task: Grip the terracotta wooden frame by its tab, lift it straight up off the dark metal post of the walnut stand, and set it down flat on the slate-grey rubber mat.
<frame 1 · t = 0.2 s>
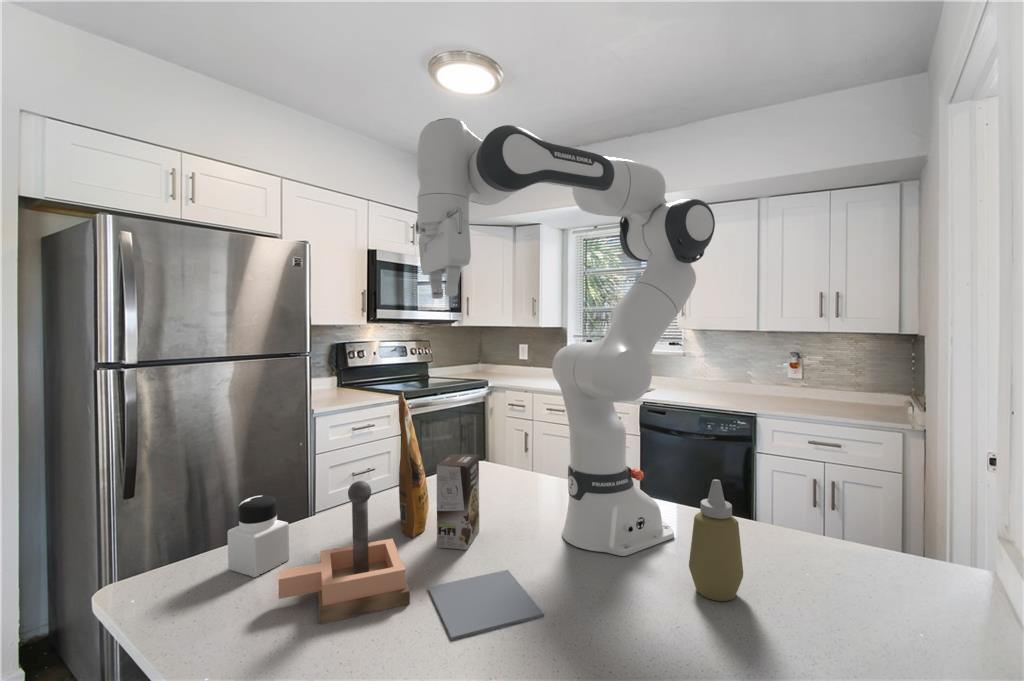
hand: (444, 297, 86), 48 cm above the countertop, tool pointing down, fingers open, 8 cm apart
mat: (483, 601, 76), on the countertop
coffee box: (459, 540, 99), on the countertop
squeeze bottle: (715, 593, 79), on the countertop
pancake mix bag: (412, 523, 107), on the countertop
frame: (361, 578, 80), point 2 cm above the countertop, touching stand
medicine bottle: (259, 566, 89), on the countertop
stand: (361, 590, 80), on the countertop
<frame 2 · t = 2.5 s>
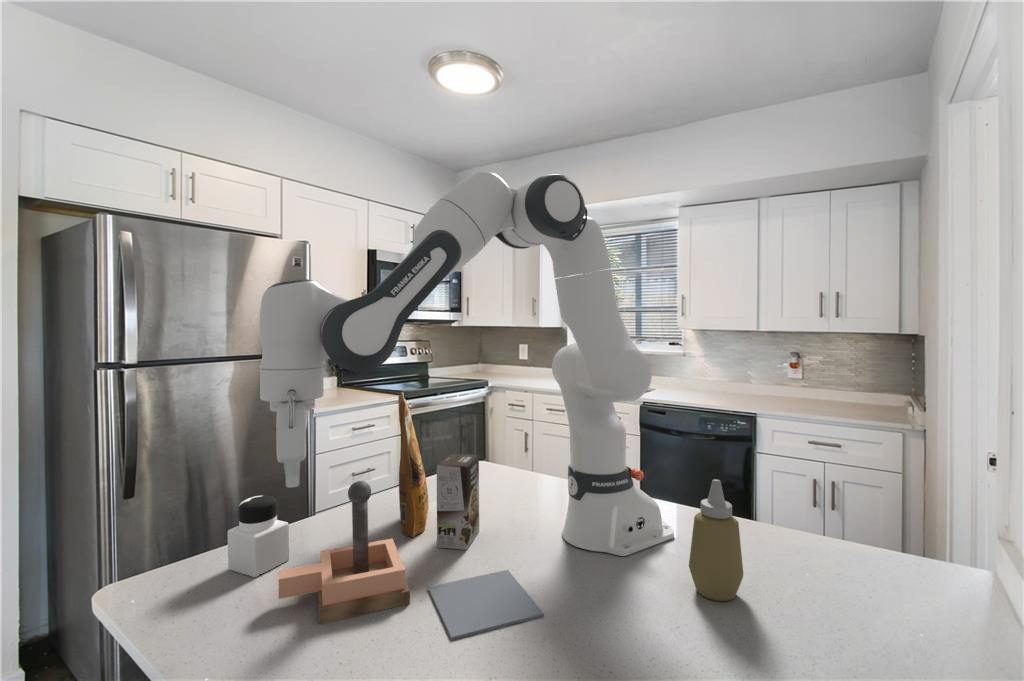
hand: (293, 476, 76), 20 cm above the countertop, tool pointing down, fingers open, 8 cm apart
nothing on the countertop moved.
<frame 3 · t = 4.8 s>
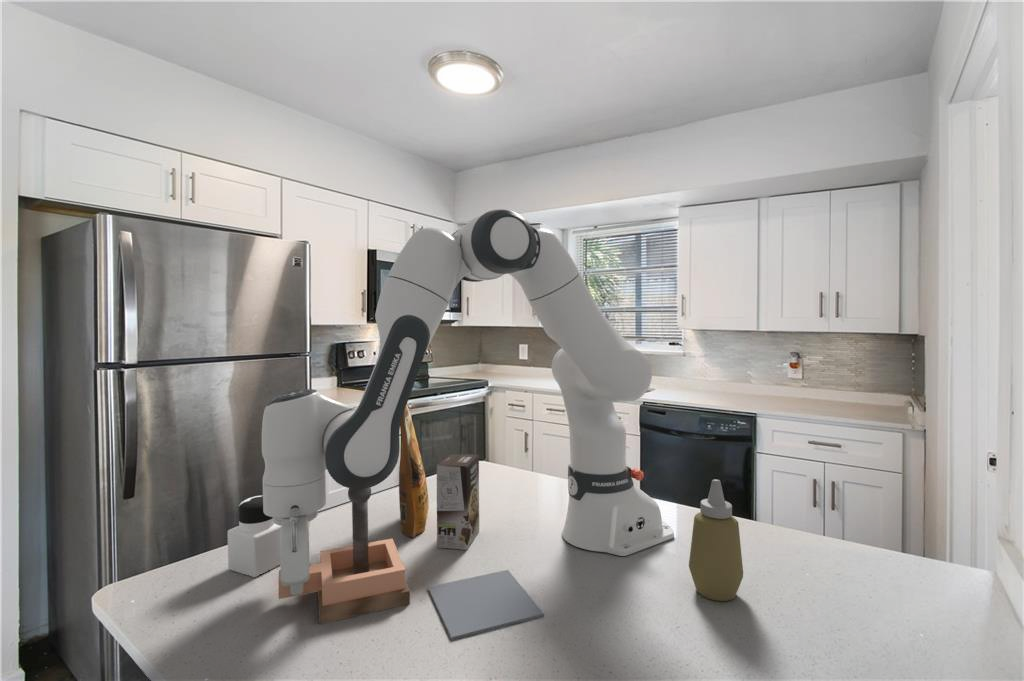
hand: (297, 584, 76), 3 cm above the countertop, tool pointing down, fingers closed on frame, 3 cm apart
frame: (361, 578, 80), point 2 cm above the countertop, touching gripper, stand
everything else where it was.
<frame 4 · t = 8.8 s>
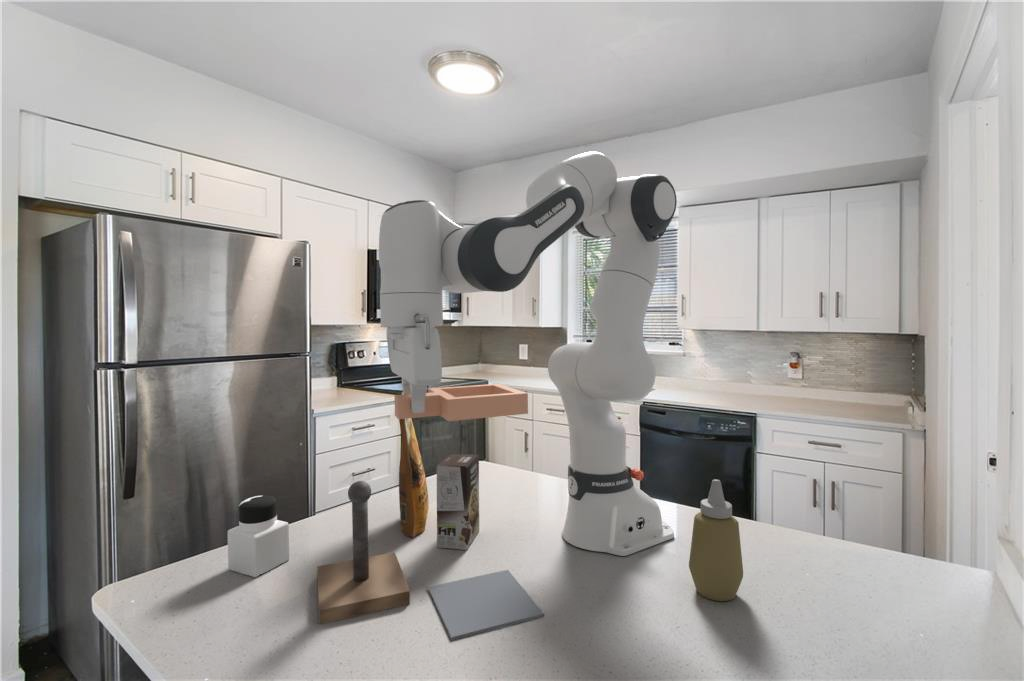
hand: (414, 409, 72), 31 cm above the countertop, tool pointing down, fingers closed on frame, 3 cm apart
frame: (476, 410, 76), point 30 cm above the countertop, touching gripper
everything else where it was.
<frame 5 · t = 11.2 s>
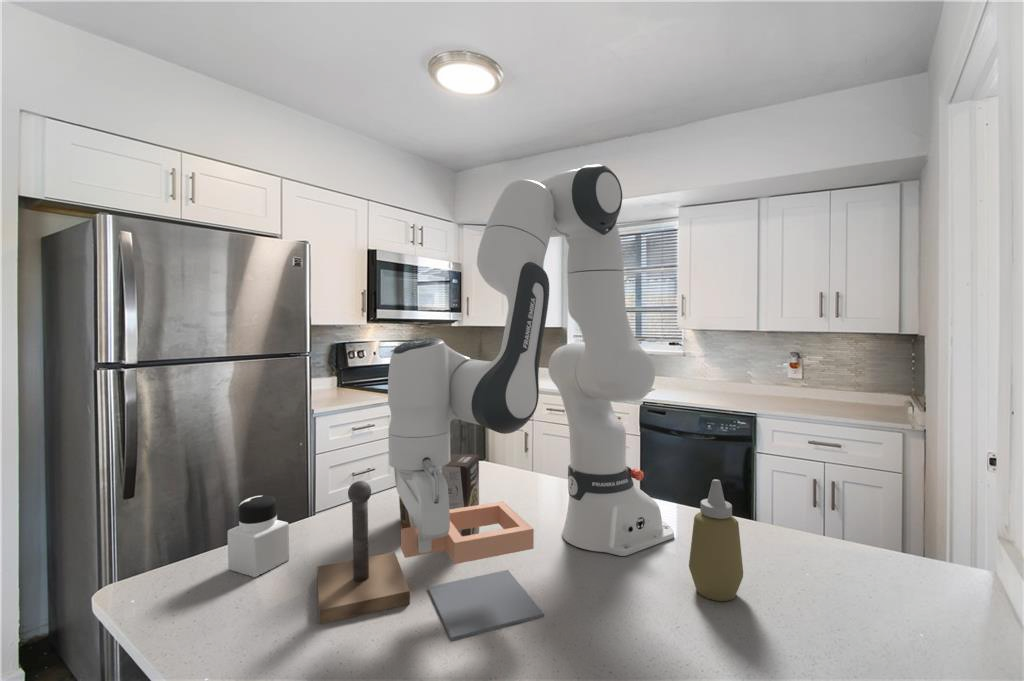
hand: (420, 544, 72), 11 cm above the countertop, tool pointing down, fingers closed on frame, 3 cm apart
frame: (481, 539, 76), point 10 cm above the countertop, touching gripper
everything else where it was.
when the fingers open (3 cm above the countertop, at t = 13.0 s): frame drops 2 cm, resting on mat.
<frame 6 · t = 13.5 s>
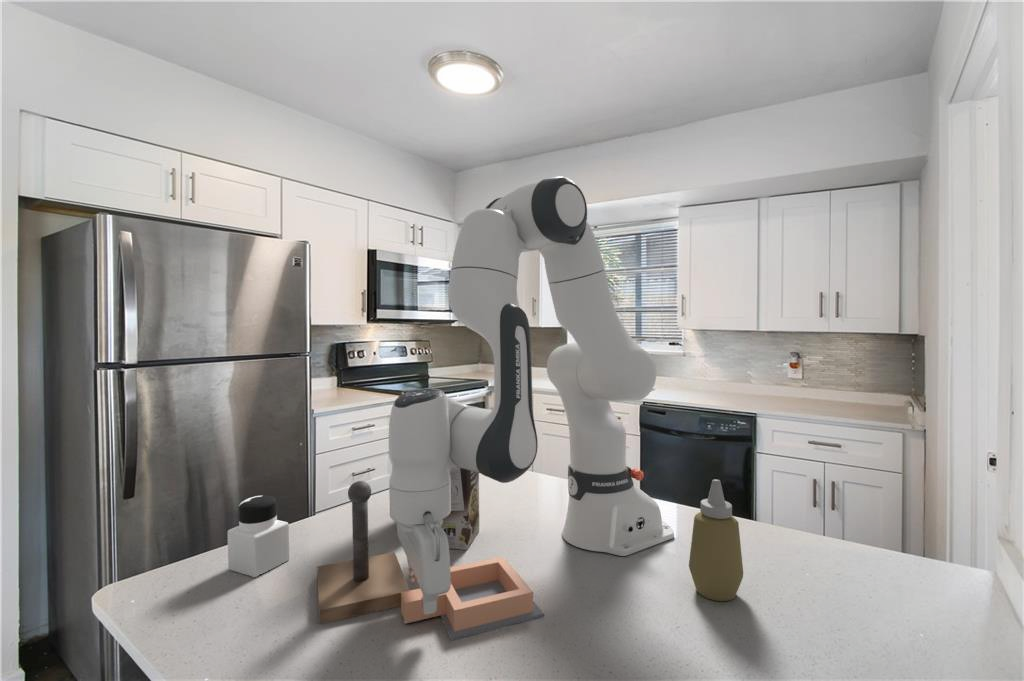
hand: (421, 594, 73), 3 cm above the countertop, tool pointing down, fingers open, 8 cm apart
frame: (481, 599, 76), resting on mat
everything else where it was.
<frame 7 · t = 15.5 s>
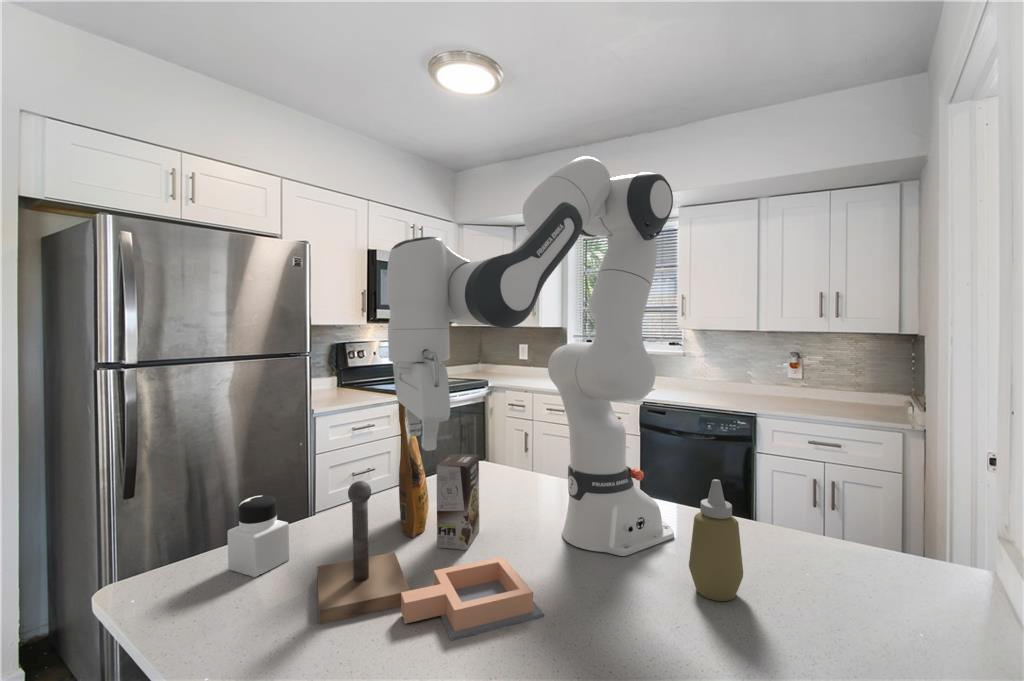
hand: (421, 441, 73), 26 cm above the countertop, tool pointing down, fingers open, 8 cm apart
nothing on the countertop moved.
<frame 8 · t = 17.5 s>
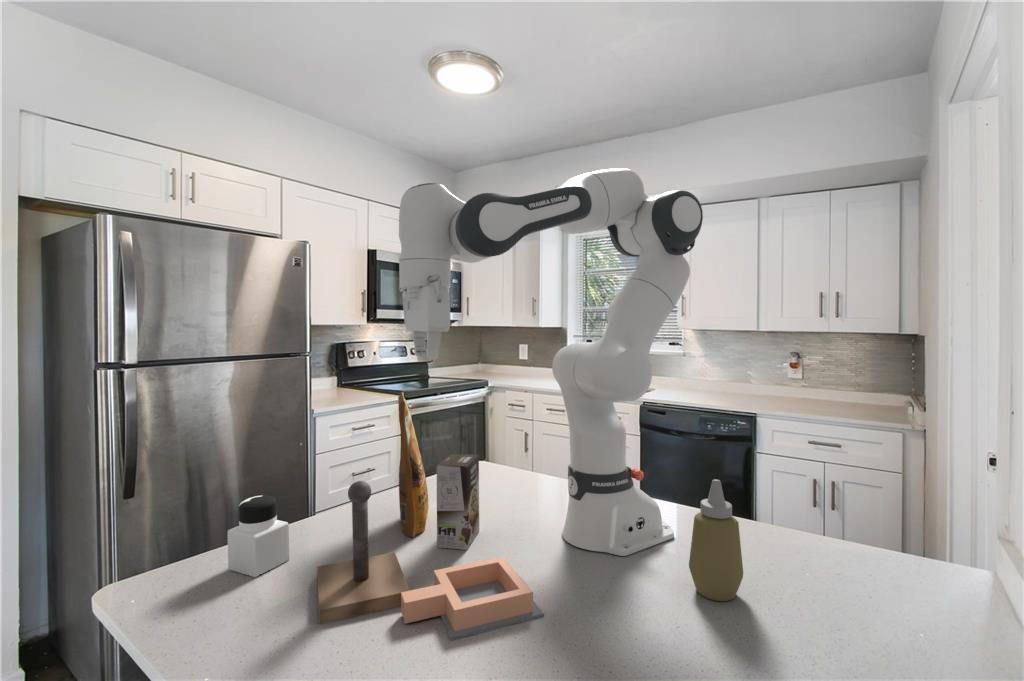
hand: (426, 357, 87), 37 cm above the countertop, tool pointing down, fingers open, 8 cm apart
nothing on the countertop moved.
at the end: frame inside the target area on the mat (0.2 cm from its centre), point 0.4 cm above the mat's base; frame tilted 0°; frame touching mat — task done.
